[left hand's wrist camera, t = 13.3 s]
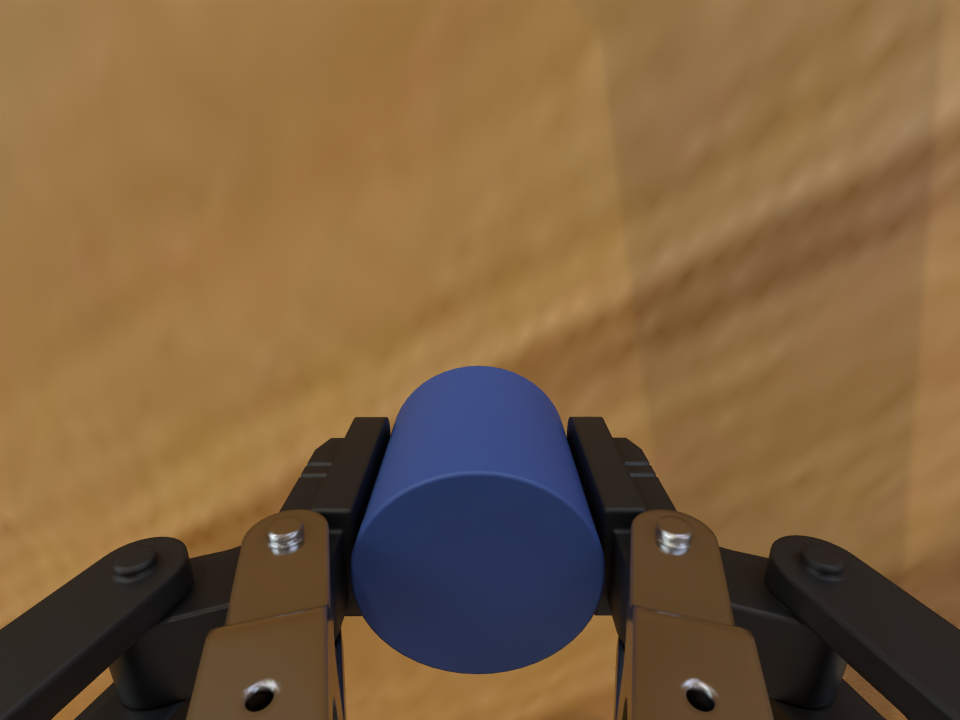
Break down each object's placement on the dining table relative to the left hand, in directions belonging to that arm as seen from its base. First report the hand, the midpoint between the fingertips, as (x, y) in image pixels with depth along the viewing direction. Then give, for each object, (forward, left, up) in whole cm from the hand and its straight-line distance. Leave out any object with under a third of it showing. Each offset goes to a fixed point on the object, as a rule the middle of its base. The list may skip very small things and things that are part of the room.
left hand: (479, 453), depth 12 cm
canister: (0, 0, 0) cm, 0 cm away
